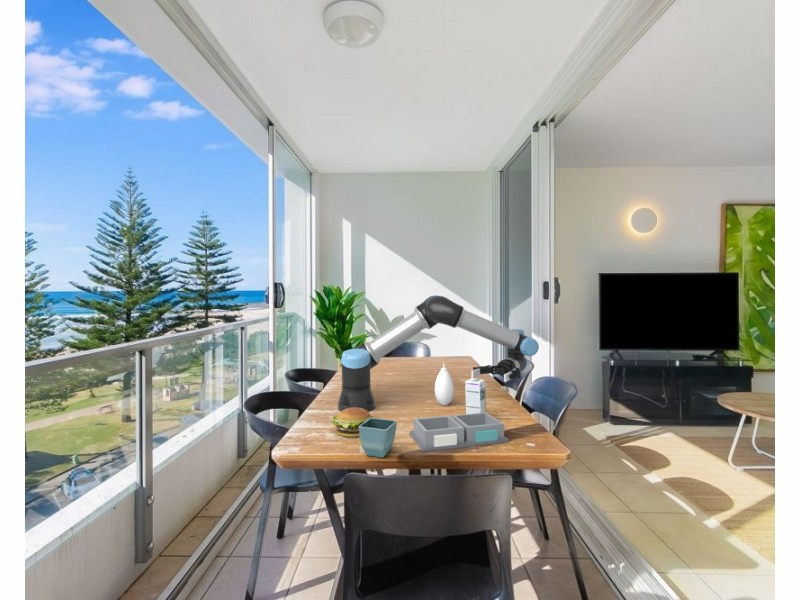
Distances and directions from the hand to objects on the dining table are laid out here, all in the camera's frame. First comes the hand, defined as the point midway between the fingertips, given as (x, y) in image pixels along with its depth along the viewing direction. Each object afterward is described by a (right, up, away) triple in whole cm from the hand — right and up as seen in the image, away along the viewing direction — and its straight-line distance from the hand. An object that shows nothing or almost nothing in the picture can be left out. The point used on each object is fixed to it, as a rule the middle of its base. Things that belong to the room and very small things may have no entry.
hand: (488, 376), depth 154 cm
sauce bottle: (-16, -14, +10) cm, 24 cm away
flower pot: (-41, -15, -39) cm, 58 cm away
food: (-50, -15, -21) cm, 57 cm away
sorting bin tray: (-16, -15, -27) cm, 35 cm away
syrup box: (-6, -14, -8) cm, 18 cm away
